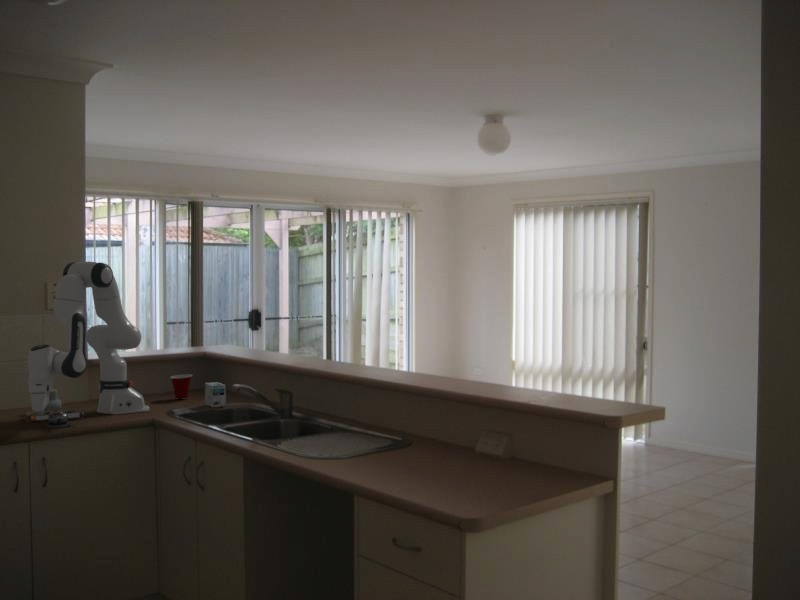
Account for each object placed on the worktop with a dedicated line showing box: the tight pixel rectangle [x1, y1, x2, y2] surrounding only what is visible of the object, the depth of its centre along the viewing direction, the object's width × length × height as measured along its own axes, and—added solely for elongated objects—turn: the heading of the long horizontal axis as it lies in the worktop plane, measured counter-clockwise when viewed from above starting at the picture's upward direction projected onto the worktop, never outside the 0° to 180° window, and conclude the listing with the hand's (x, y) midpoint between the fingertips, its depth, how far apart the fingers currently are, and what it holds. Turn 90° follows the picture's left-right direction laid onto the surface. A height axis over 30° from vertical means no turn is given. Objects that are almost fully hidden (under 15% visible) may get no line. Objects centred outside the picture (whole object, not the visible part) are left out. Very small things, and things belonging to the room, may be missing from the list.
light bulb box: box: [204, 381, 227, 406], centre depth 359 cm, size 11×7×11 cm, turn 34°
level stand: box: [25, 408, 85, 423], centre depth 324 cm, size 22×10×4 cm, turn 114°
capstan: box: [31, 410, 85, 425], centre depth 308 cm, size 20×20×5 cm
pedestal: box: [45, 421, 71, 429], centre depth 308 cm, size 9×9×1 cm
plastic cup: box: [169, 373, 193, 399], centre depth 377 cm, size 11×11×12 cm
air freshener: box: [45, 388, 63, 411], centre depth 337 cm, size 11×8×10 cm
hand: (41, 419), depth 307 cm, fingers closed
